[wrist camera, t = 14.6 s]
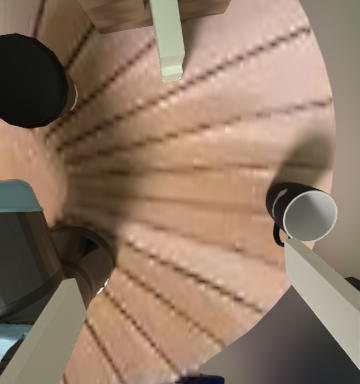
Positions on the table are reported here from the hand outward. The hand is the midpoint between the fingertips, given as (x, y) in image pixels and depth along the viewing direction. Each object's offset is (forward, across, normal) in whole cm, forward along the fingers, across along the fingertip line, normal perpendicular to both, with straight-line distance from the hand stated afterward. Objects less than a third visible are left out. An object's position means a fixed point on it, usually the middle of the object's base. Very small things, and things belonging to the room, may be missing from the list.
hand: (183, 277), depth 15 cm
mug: (+32, +20, -10) cm, 39 cm away
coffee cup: (+32, -16, +17) cm, 40 cm away
